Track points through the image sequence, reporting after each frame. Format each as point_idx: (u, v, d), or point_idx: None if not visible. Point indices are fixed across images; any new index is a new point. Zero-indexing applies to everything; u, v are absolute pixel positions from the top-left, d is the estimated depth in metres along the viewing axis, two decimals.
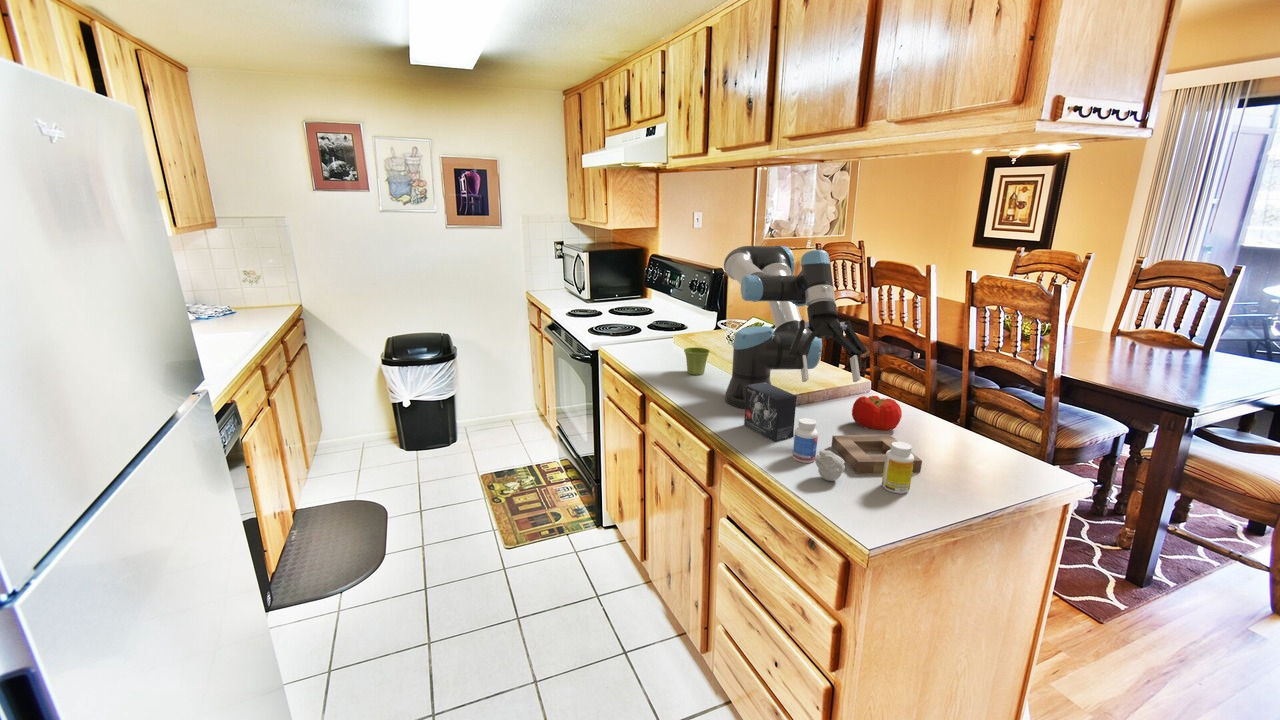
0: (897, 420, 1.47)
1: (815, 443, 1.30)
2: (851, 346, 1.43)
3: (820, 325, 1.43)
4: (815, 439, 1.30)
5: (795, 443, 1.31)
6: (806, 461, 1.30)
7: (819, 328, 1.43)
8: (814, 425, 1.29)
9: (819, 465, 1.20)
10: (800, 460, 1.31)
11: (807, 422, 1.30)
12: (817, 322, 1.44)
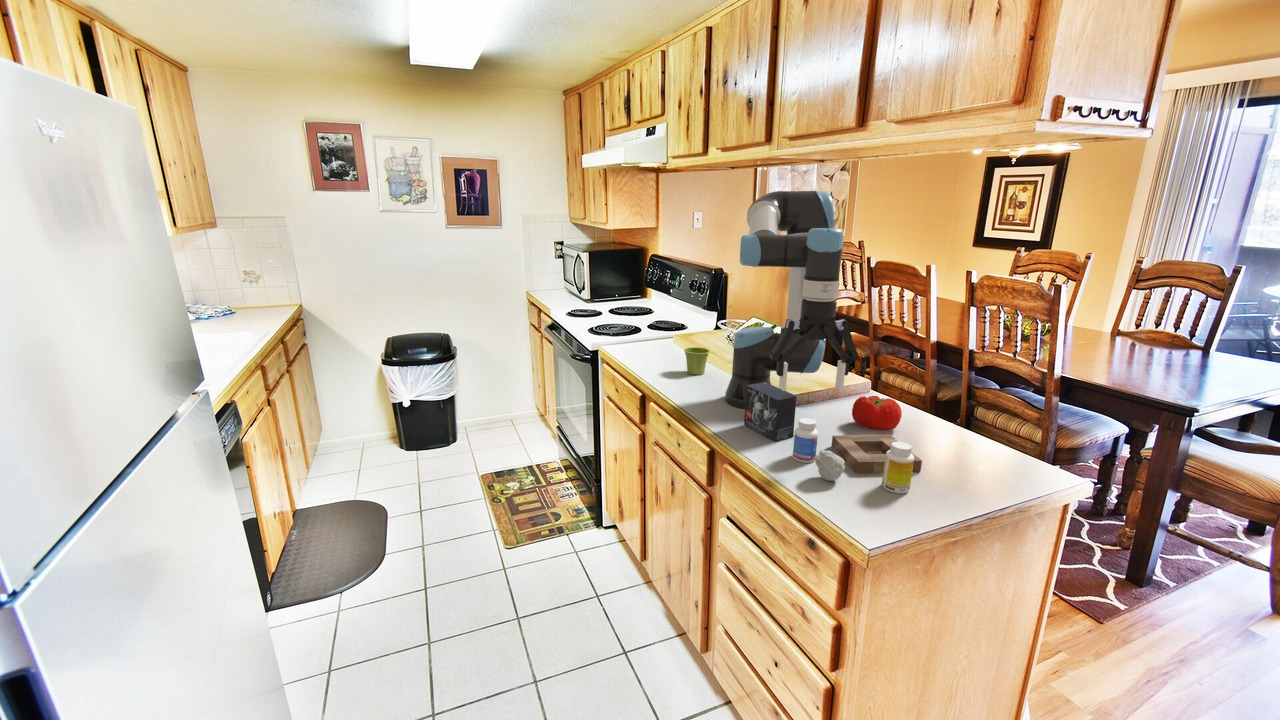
0: (897, 420, 1.47)
1: (815, 443, 1.30)
2: (842, 353, 1.25)
3: (811, 330, 1.22)
4: (815, 439, 1.30)
5: (795, 443, 1.31)
6: (806, 461, 1.30)
7: (810, 333, 1.23)
8: (814, 425, 1.29)
9: (819, 465, 1.20)
10: (800, 460, 1.31)
11: (807, 422, 1.30)
12: (809, 324, 1.23)
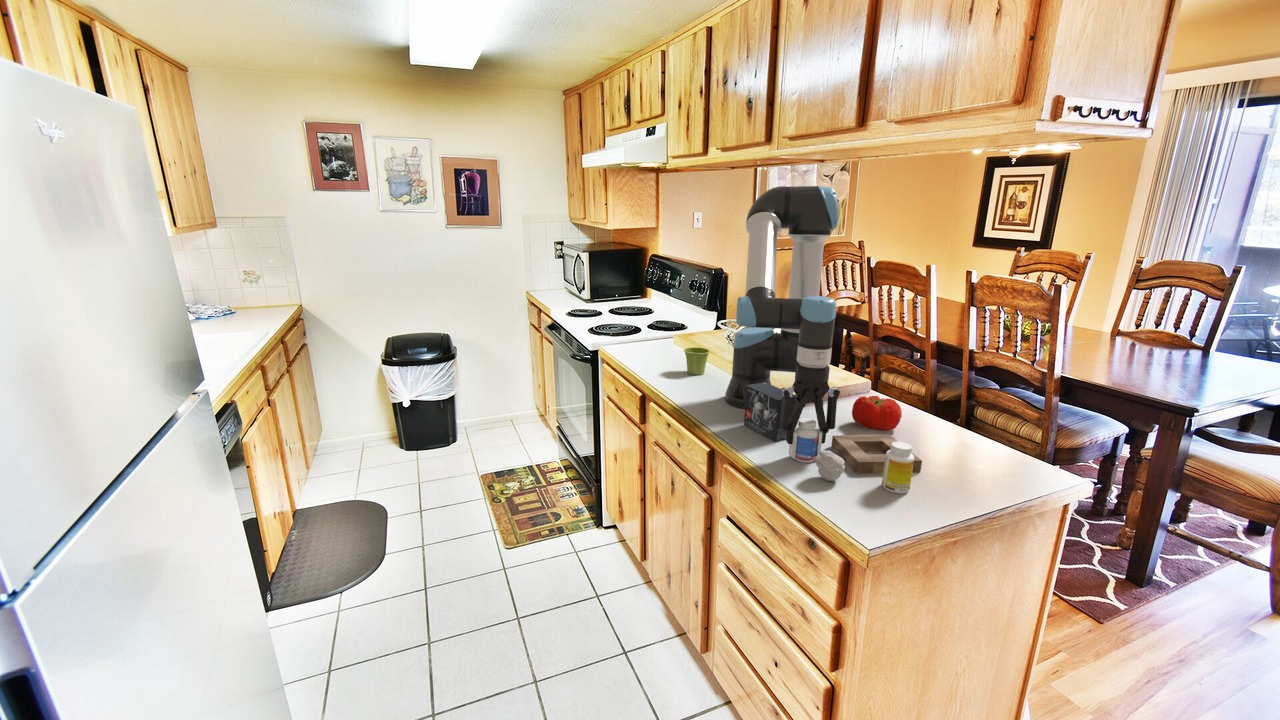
0: (897, 420, 1.47)
1: (815, 443, 1.30)
2: (822, 421, 1.30)
3: (806, 394, 1.27)
4: (815, 439, 1.30)
5: None
6: (806, 461, 1.30)
7: (806, 397, 1.27)
8: (814, 425, 1.29)
9: (819, 465, 1.20)
10: (800, 460, 1.31)
11: (807, 422, 1.30)
12: (802, 386, 1.27)
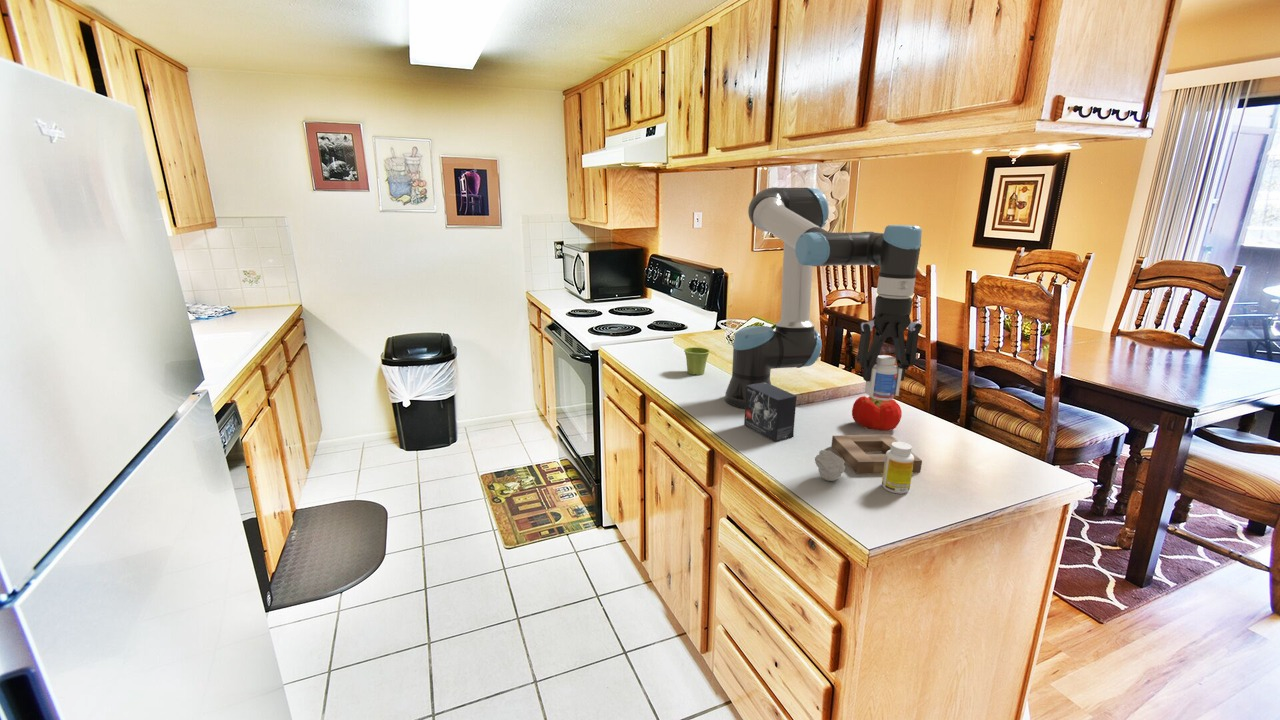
0: (897, 420, 1.47)
1: (895, 380, 1.26)
2: (902, 356, 1.25)
3: (887, 328, 1.22)
4: (895, 375, 1.25)
5: None
6: (885, 398, 1.26)
7: (887, 331, 1.23)
8: (894, 361, 1.25)
9: (819, 465, 1.20)
10: (879, 398, 1.27)
11: (887, 358, 1.25)
12: (883, 319, 1.23)
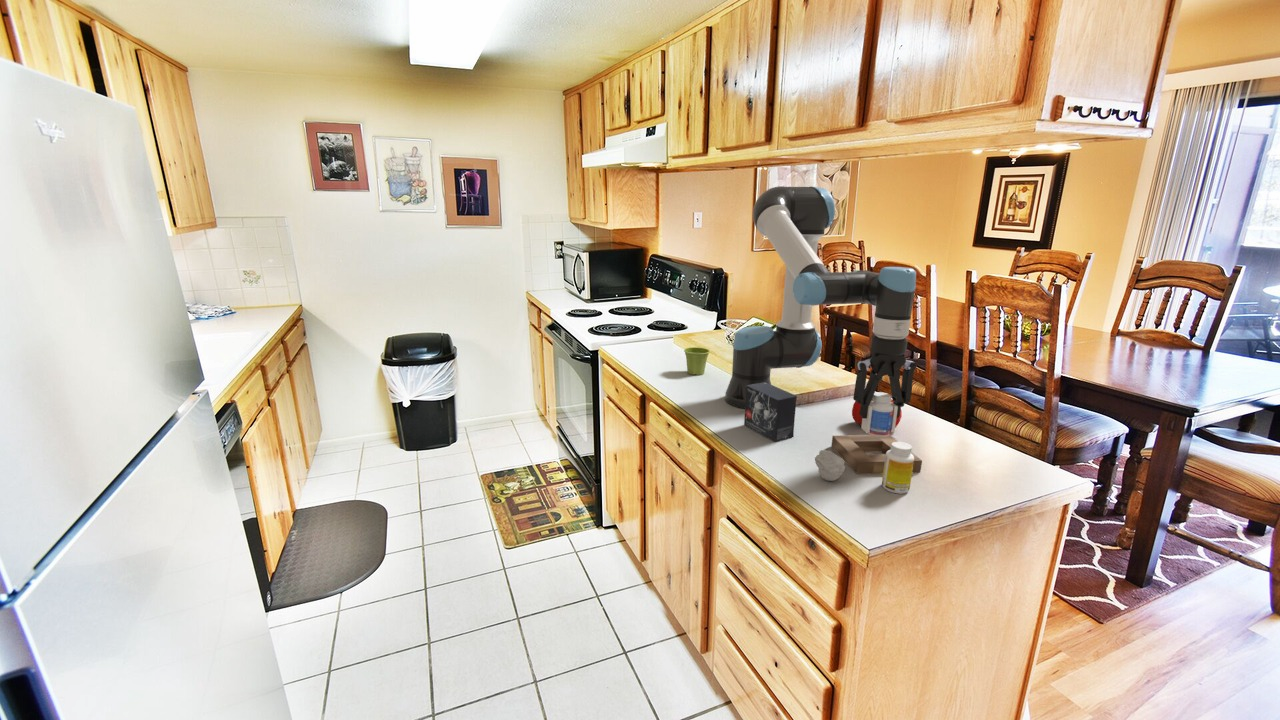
0: (897, 420, 1.47)
1: (891, 417, 1.28)
2: (898, 394, 1.28)
3: (883, 367, 1.25)
4: (891, 413, 1.28)
5: None
6: (881, 435, 1.29)
7: (882, 370, 1.25)
8: (890, 398, 1.28)
9: (819, 465, 1.20)
10: (875, 434, 1.29)
11: (883, 396, 1.28)
12: (879, 358, 1.25)
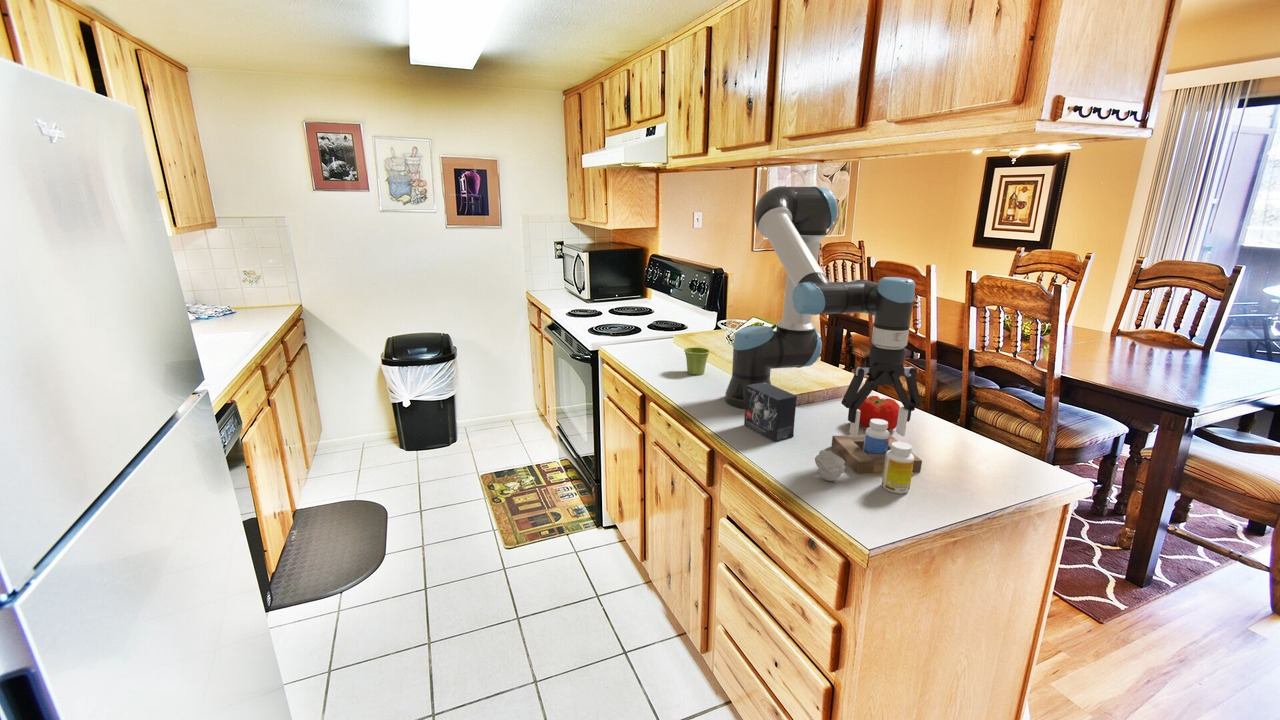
0: None
1: (887, 443, 1.30)
2: (906, 400, 1.28)
3: (881, 376, 1.25)
4: (887, 439, 1.30)
5: (866, 443, 1.31)
6: None
7: (880, 379, 1.26)
8: (886, 426, 1.29)
9: (819, 465, 1.20)
10: None
11: (880, 423, 1.30)
12: (878, 369, 1.26)
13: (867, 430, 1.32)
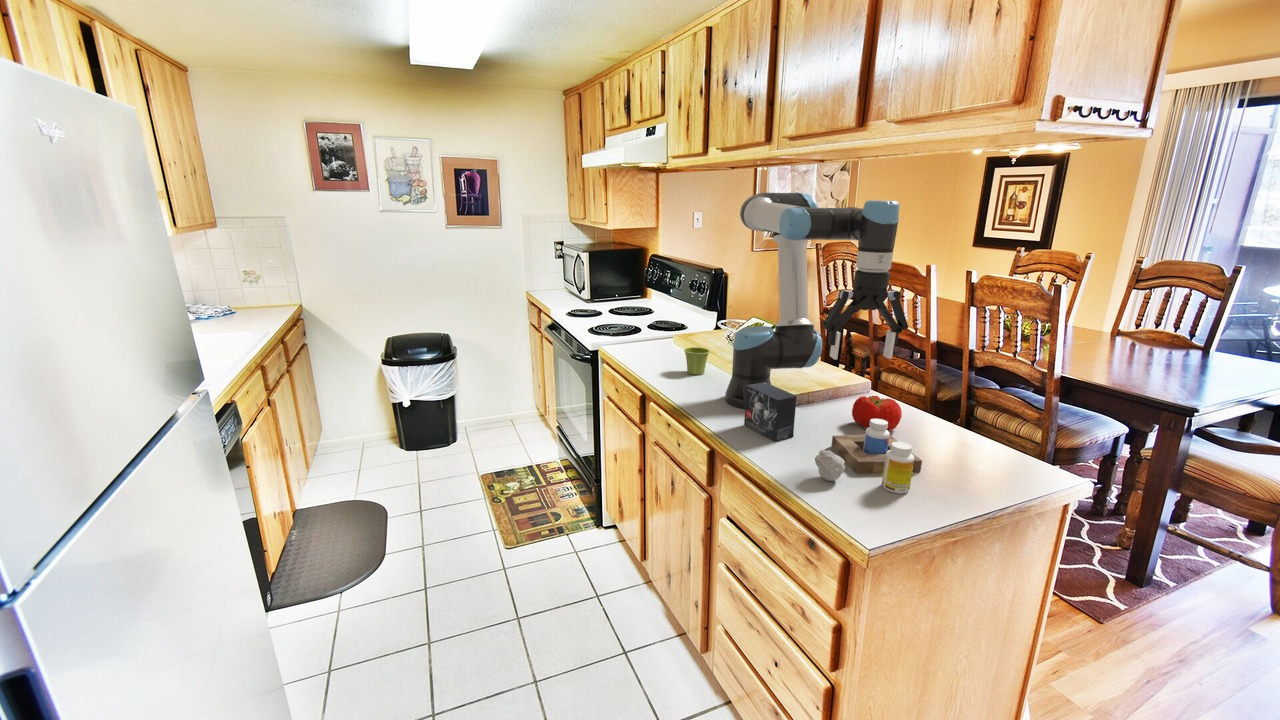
0: (897, 420, 1.47)
1: (887, 443, 1.30)
2: (892, 322, 1.29)
3: (865, 300, 1.26)
4: (887, 439, 1.30)
5: (866, 443, 1.31)
6: None
7: (863, 303, 1.27)
8: (886, 425, 1.30)
9: (819, 465, 1.20)
10: None
11: (880, 423, 1.30)
12: (862, 294, 1.27)
13: (867, 430, 1.32)
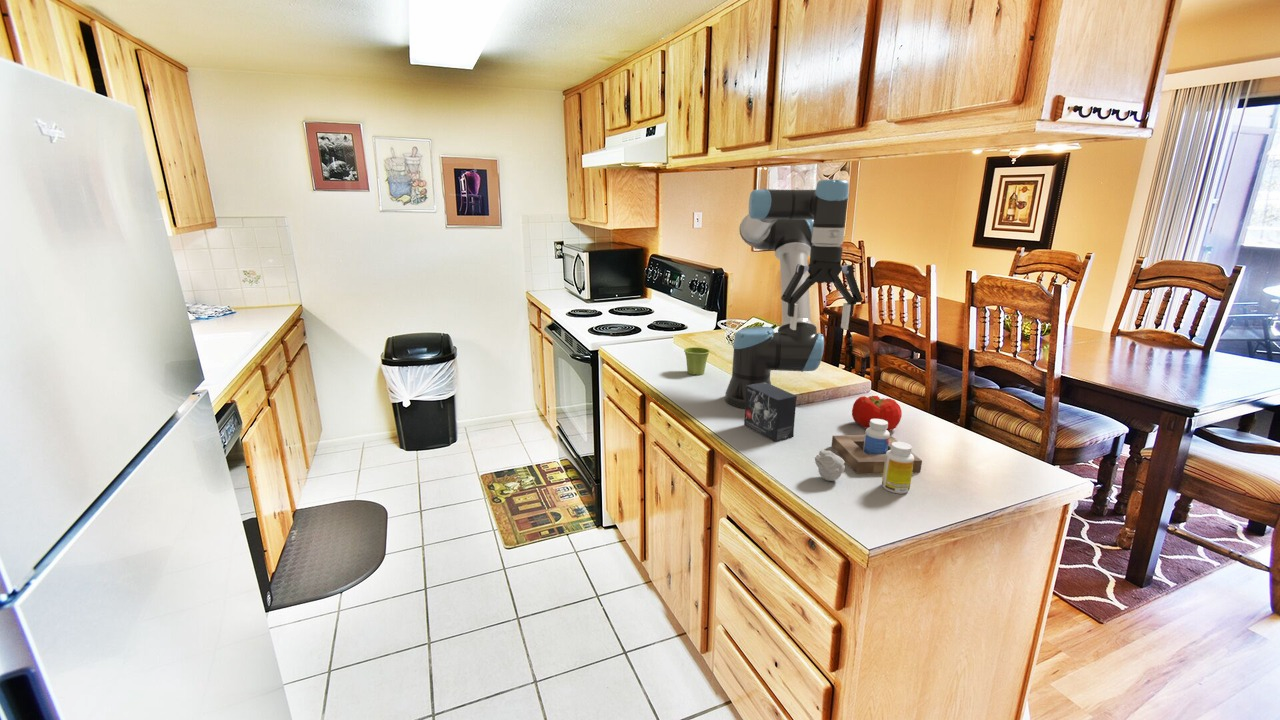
0: (897, 420, 1.47)
1: (887, 443, 1.30)
2: (847, 295, 1.38)
3: (820, 273, 1.35)
4: (887, 439, 1.30)
5: (866, 443, 1.31)
6: None
7: (818, 276, 1.36)
8: (886, 425, 1.29)
9: (819, 465, 1.20)
10: None
11: (880, 423, 1.30)
12: (818, 268, 1.36)
13: (867, 430, 1.32)
